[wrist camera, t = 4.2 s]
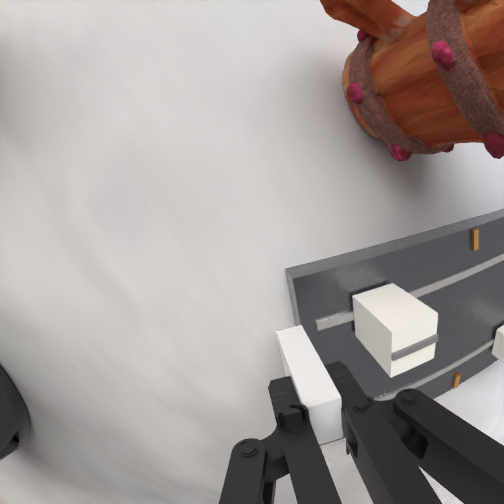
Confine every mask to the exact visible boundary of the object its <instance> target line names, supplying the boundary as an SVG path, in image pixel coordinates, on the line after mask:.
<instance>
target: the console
mask: <svg viewBox="0 0 504 504" xmlns="http://www.w3.org/2000/svg"><path fill="white" fill-rule="evenodd" d="M285 271H286V276H287V281H288V287H289V292H290V297H291V303H292V308H293V314H294V319H295V325H296V326H299V325H302V327H303V329H304V330H305V332H306V334H307V336H308V338H309V339H310V341H311V343H312V345H313V347H314V349H315V350H316V352H317V354H318V356H319V358H320V359H321V361H322V363H323V365H327V364H330V363H333V362H337V361H340V362H342V363H343V364H345V365H346V366H347V367H348V369H349V370H350V372H351V373H352V375H353V377H354V378H355V379H356V381H357V382H358V384H359V385H360V387H361V389H362V390H363V392H364V393H365V395H366V396H369V397H372V398H373V399H374V400H378V401H384V400H391V399H394V398H395V395H396V394H397V393H398V392H399V391H401V390H403V389H408V388H413V389H417V390H419V391H421V392H422V393H424V394H425V395H427V396H428V397H430V398H431V399H434V398H436V397H438V396H440V395H442V394H444V393H445V392H447V391H449V390H451V389H452V388H453V389H455V388H456V387H458V385H459V384H461V383H463V382H464V381H466V380H467V379H469V378H471V377H472V376H474V375H475V374H477V373H479V372H480V371H482V370H483V369H485V368H486V367H488V366H489V365H490V364H492V363H493V362H495V361H496V360H498V358H496V357H495V356H494V355H492V350H493V345H494V341H495V336H496V331H497V329H498V328H500V327H501V326H503V325H504V209H502V210H498V211H495V212H492V213H488V214H485V215H482V216H478V217H475V218H472V219H468V220H465V221H461V222H458V223H455V224H451V225H448V226H444V227H441V228H437V229H434V230H430V231H427V232H423V233H420V234H416V235H412V236H409V237H405V238H402V239H398V240H394V241H391V242H387V243H383V244H380V245H376V246H372V247H368V248H365V249H361V250H357V251H353V252H350V253H346V254H342V255H338V256H334V257H330V258H327V259H323V260H319V261H315V262H311V263H307V264H303V265H299V266H295V267H291V268H287V269H285ZM391 283H393V284H395V285H396V286H398V287H400V288H401V289H403V290H404V291H406V292H407V293H409V294H410V295H412V296H413V297H415V298H416V299H418V300H419V301H421V302H422V303H424V304H425V305H427V306H428V307H430V308H431V309H433V310H434V311H436V312H437V313H438V322H437V334H438V335H439V336H438V341H437V342H436V344H435V353H434V358H433V359H431V360H429V361H427V362H425V363H423V364H420V365H418V366H416V367H414V368H412V369H410V370H407V371H405V372H403V373H400V374H398V375H396V376H393V377H391V378H390V377H389V375H388V374H387V373H386V372H385V370H384V369H383V368H382V367H381V366H380V364H379V363H378V362H377V361H376V360H375V358H374V357H373V356H372V355H371V354H370V352H369V351H368V350H367V349H366V348H365V347H364V345H363V344H362V343H361V342H360V341H359V339H358V338H357V337H356V336H355V322H354V309H353V298H352V296H353V295H356V294H360V293H363V292H366V291H369V290H372V289H375V288H379V287H382V286H385V285H388V284H391ZM343 438H345V435H344V432H343ZM340 439H342V438H340ZM337 440H339V439H337ZM334 441H336V440H334ZM331 442H333V441H331ZM328 443H330V442H328ZM324 444H327V443H324ZM324 444H321V445H324ZM321 445H319V446H321Z"/></svg>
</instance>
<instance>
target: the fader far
mask: <svg viewBox="0 0 504 504" xmlns="http://www.w3.org/2000/svg"><path fill="white" fill-rule="evenodd" d="M492 355H494V356H495V357H496V358H498V359H499V360H500V361H502V362H503V363H504V325H503V326H501V327H500V328H498V329H497V331H496V336H495V341H494V345H493V350H492Z"/></svg>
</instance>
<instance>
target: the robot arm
mask: <svg viewBox="0 0 504 504" xmlns="http://www.w3.org/2000/svg"><path fill="white" fill-rule="evenodd" d="M276 334H277V339H278V344H279V349H280V353H281V358H282V363H283V368H284V371H285V374H286V377H283V378H279V379H275V380H271V381H270V384H269V387H268V389H269V393H270V397H271V401H272V405H273V409H274V414H275V419H276V423H277V426H276V429H275V431H274V432H273V433H272V434H271V435H270V436H268V437H267V438H265V439H263V440H258V439H253V438H250V439H244V440H242V441H240V442H238V443H237V444H236V445H235V446H234V448H233V450H232V453H231V457H230V461H229V466H228V470H227V474H226V478H225V482H224V486H223V489H222V493H221V497H220V501H219V504H274V496H275V488H276V480H277V479H279V478H281V477H283V476H285V475H287V474H289V473H290V477H291V480H292V484H293V488H294V492H295V495H296V499H297V503H298V504H342V503H341V500H340V498H339V495H338V493H337V490H336V487H335V485H334V482H333V480H332V477H331V474H330V472H329V469H328V467H327V464H326V461H325V459H324V456H323V454H322V451H321V449H320V446H319V445H321V444H324V443H328V442H331V441H334V440H337V439H340V438H343V432H344V435H345V437H346V452H347V455H348V454H349V452H350V454H351V456H352V458H353V460H354V462H355V464H356V467H357V469H358V471H359V473H360V475H361V477H362V479H363V482H364V484H365V486H366V488H367V490H368V492H369V495H370V497H371V499H372V501H373V503H374V504H442V503H441V501H440V499H439V498H438V496H437V495H436V493H435V492H434V490H433V488H432V487H431V485H430V484H429V482H428V481H427V479H426V477H425V476H424V474H423V473H422V471H421V470H420V468H419V467H421V468H422V469H423V470H424V471H425V472H427V473H428V474H429V475H430V476H431V477H432V478H434V479H435V480H436V481H437V482H438V483H440V484H441V485H442V486H443V487H444V488H446V489H447V490H448V491H449V492H451V493H452V494H453V495H454V496H455V497H457V498H458V499H459V500H460V501H462V502H463V503H464V504H504V446H503V445H501V444H500V443H498V442H497V441H495V440H494V439H492V438H491V437H489V436H487V435H486V434H484V433H483V432H481V431H480V430H478V429H477V428H475V427H474V426H472V425H471V424H469V423H467V422H466V421H464V420H463V419H461V418H460V417H458V416H457V415H455V414H454V413H452V412H451V411H449V410H448V409H446V408H445V407H443V406H442V405H440V404H439V403H437V402H436V401H434V400H433V399H431V398H430V397H428V396H427V395H425V394H424V393H422V392H421V391H419V390H417V389H413V388H408V389H403V390H401V391H399V392H398V393H397V394H396V395H395V398H394V399H391V400H384V401H378V400H374V399H373V398H372V397H369V396H366V395H365V393H364V392H363V390H362V389H361V387H360V385H359V384H358V382H357V381H356V379H355V378H354V377H353V375H352V373H351V372H350V370H349V369H348V367H347V366H346V365H345V364H343V363H342V362H340V361H337V362H333V363H330V364H327V365H323V363H322V361H321V359H320V358H319V356H318V354H317V352H316V350H315V349H314V347H313V345H312V343H311V341H310V339H309V338H308V336H307V334H306V332H305V330H304V329H303V327H302V325H299V326H295V327H291V328H288V329H284V330H280V331H276ZM29 431H30V419H29V415H28V412H27V409H26V407H25V404H24V402H23V400H22V398H21V396H20V395H19V393H18V391H17V389H16V388H15V386H14V385H13V383H12V382H11V380H10V379H9V377H8V376H7V374H6V373H5V372H4V370H3V369H2V368H1V366H0V461H1V460H2V459H4V458H5V457H7V456H8V455H9V454H11V453H12V452H14V451H15V450H17V449H18V448H19V447H20V446H21V445H22V444H23V442H24V440H25V438H26V437H27V435H28V433H29ZM418 466H419V467H418Z"/></svg>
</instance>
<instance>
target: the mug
mask: <svg viewBox="0 0 504 504" xmlns="http://www.w3.org/2000/svg"><path fill="white" fill-rule="evenodd" d="M320 2H321V4H322V5H323V7H324V9H325V12H326V13H327V14H328V15H329V16H331V17H332V18H333V19H335V20H339V21H342V22H345V23H347V24H349V25H351V26H353V27H356V28H358V29H360V30H359V32H358V34H357V37H358V41H359V43H358V45H357V47H356V48H355V50H354V51H353V52H352V53H351V54H349V56H348V58H347V59H346V63H345V67H344V71H343V89H344V94H345V99H346V100H347V102H348V104H349V106H350V108H351V110H352V112H353V114H354V116H355V118H356V119H357V121H358V122H359V123H360V125H361V126H362V127H363V129H364V130H366V131H367V132H368V133H369V134H370V135H372V136H373V137H375V138H377V139H381V140H382V141H384V142H385V143H386V144H387V145H388V146H390V151H391V154H392V156H393V158H394V159H395V160H397V161H405V160H408V159H409V158H410V156H411V155H412V154H435V153H439V152H441V151H443V152H447V153H448V152H450V151H452V150H453V148H454V144H455V143H469V142H477V143H484V145H485V148H486V150H487V151H488V152H489V153H490V154H491V155H492V157H493V158H498V159H500V158H501V157H503V156H504V0H430V1H429V3H428V8H427V11H426V12H425V13H423V14H421V15H420V16H418V17H416V16H413V15H411V14H410V13H408V12H407V11H405V10H404V9H402V8H401V7H400V6H398V5H397V4H395V3H394V2H393V1H391V0H320Z"/></svg>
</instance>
